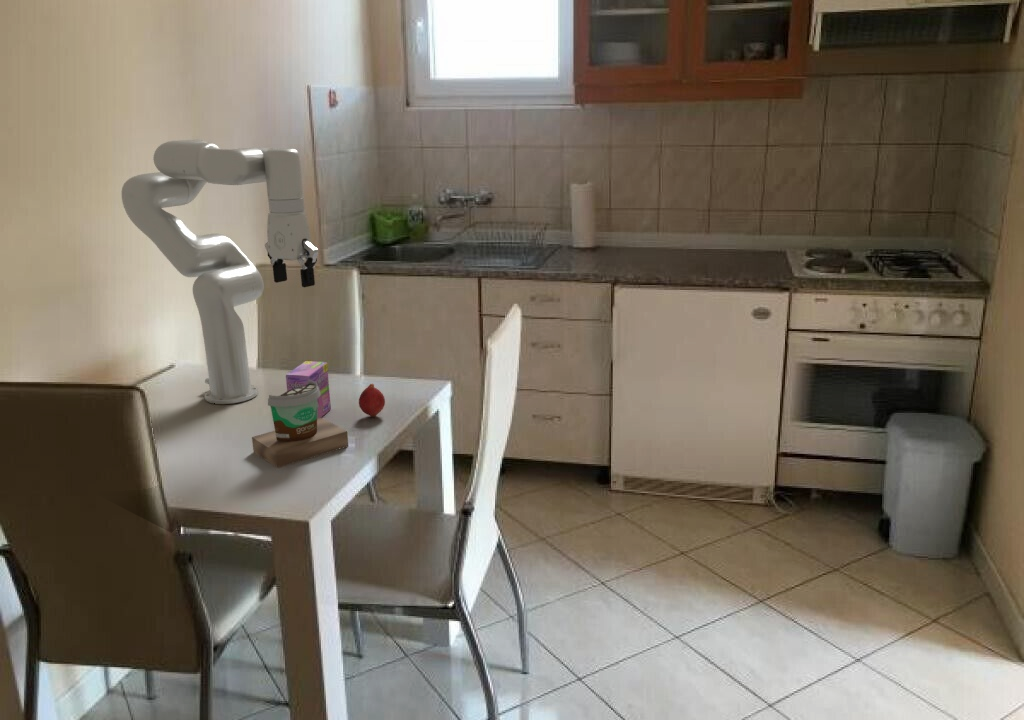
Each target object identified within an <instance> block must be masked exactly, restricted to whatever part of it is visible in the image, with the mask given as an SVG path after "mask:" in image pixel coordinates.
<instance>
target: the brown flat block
mask: <svg viewBox="0 0 1024 720" xmlns="http://www.w3.org/2000/svg"><path fill="white" fill-rule="evenodd" d="M251 441H252V442H251V443H252V451H253V453H254V454H256V456H259V457H260V458H261V459H263V460H265V461H266V462H268V463H269V462H270V463H269V464H271V465H272V466H274V467H276V468H277V469H278V468H282V467H286V466H288V465H289V466H290V465H292V464H295V463H299V462H302V461H305V460H308V459H312V458H314V456H315V457H318V456H322V455H324V454H328V453H330V451H331V452H334V451H337V450H336V449H338V450H340V449H339V448H341V449H344V448H346V446H347V447H349V438H348V430H346V429H344V428H342V427H341V426H339V425H336V424H334V423H332V422H330V421H328V420H327V419H325V418H323V417H321V418H319V419H317V433H316V434H315V435H314V436H313V437H310V438H308V439H305V440H300V441H290V442H287V441H278V440H277V439H276V433H275V430H271V431H269V432H265V433H262V434H258V435H254V436H252V437H251ZM343 447H344V448H343ZM333 450H334V451H333ZM327 452H328V453H327ZM311 457H312V458H311ZM298 461H299V462H298Z"/></svg>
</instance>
